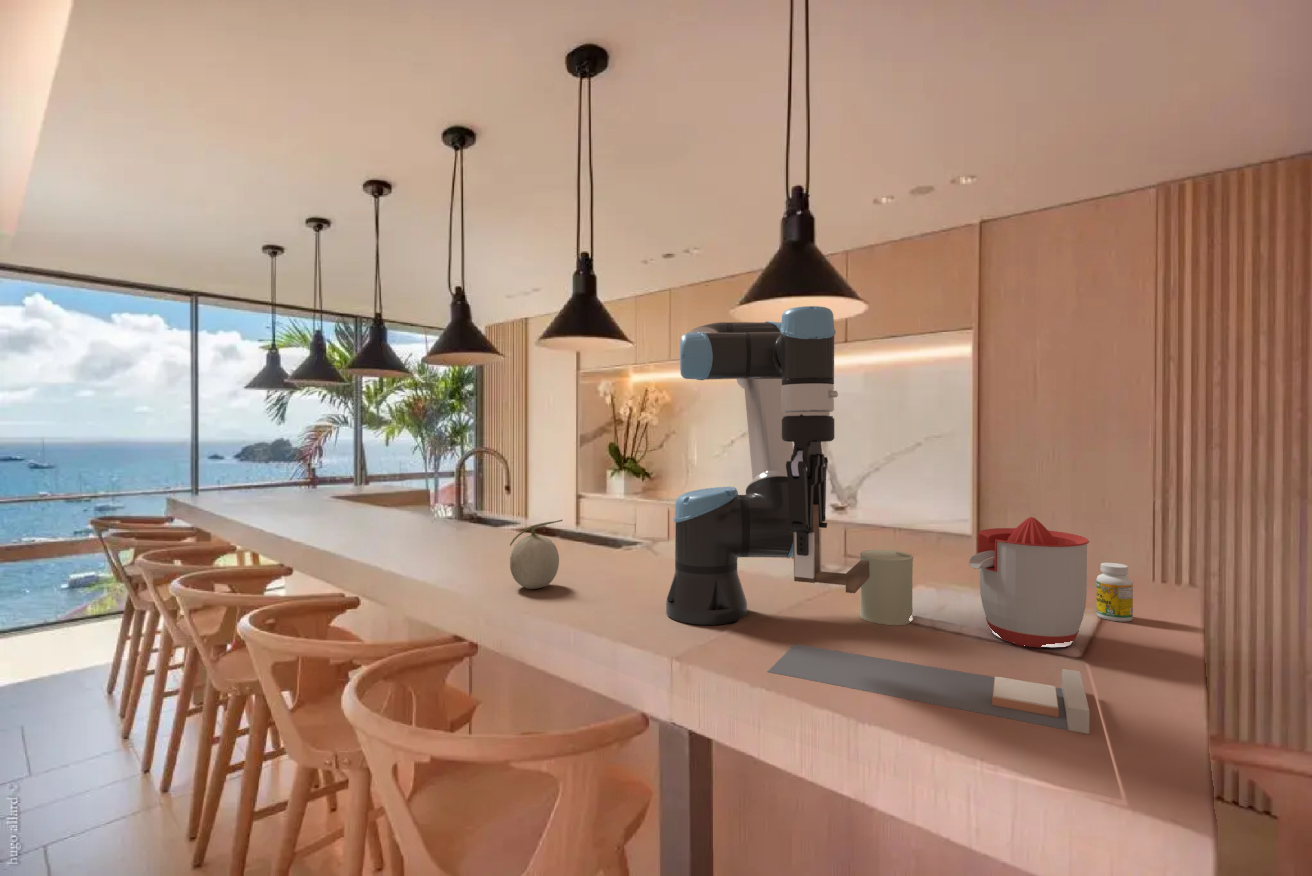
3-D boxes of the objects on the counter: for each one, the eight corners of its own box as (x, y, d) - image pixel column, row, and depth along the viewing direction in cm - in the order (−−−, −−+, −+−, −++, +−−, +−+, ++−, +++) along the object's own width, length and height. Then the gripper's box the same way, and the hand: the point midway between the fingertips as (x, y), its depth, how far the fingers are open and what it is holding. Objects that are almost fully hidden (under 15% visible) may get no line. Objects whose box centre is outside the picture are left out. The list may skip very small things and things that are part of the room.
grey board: (767, 674, 91) (767, 653, 91) (795, 646, 102) (795, 627, 102) (1089, 737, 72) (1089, 710, 72) (1079, 694, 84) (1080, 671, 84)
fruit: (497, 588, 140) (496, 519, 140) (543, 579, 148) (542, 514, 147) (522, 597, 132) (521, 525, 132) (569, 587, 140) (568, 519, 140)
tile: (992, 704, 80) (992, 695, 80) (994, 684, 86) (994, 675, 86) (1058, 717, 77) (1058, 707, 76) (1055, 695, 83) (1055, 685, 83)
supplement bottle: (1140, 622, 113) (1140, 567, 113) (1110, 622, 113) (1111, 568, 113) (1117, 613, 119) (1117, 561, 118) (1089, 613, 118) (1089, 561, 118)
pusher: (786, 586, 91) (785, 508, 91) (806, 572, 100) (805, 501, 99) (854, 593, 86) (853, 511, 86) (869, 577, 95) (868, 503, 95)
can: (918, 626, 112) (918, 558, 111) (862, 623, 114) (862, 556, 113) (908, 611, 121) (908, 547, 120) (857, 609, 123) (857, 546, 122)
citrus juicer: (951, 623, 113) (951, 510, 113) (1051, 623, 113) (1052, 510, 112) (995, 655, 98) (996, 524, 97) (1111, 655, 97) (1113, 524, 97)
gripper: (818, 413, 85) (818, 589, 86) (846, 414, 99) (846, 566, 100) (764, 414, 89) (764, 583, 89) (799, 415, 103) (799, 561, 103)
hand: (808, 573), depth 94 cm, fingers closed on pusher, 3 cm apart
